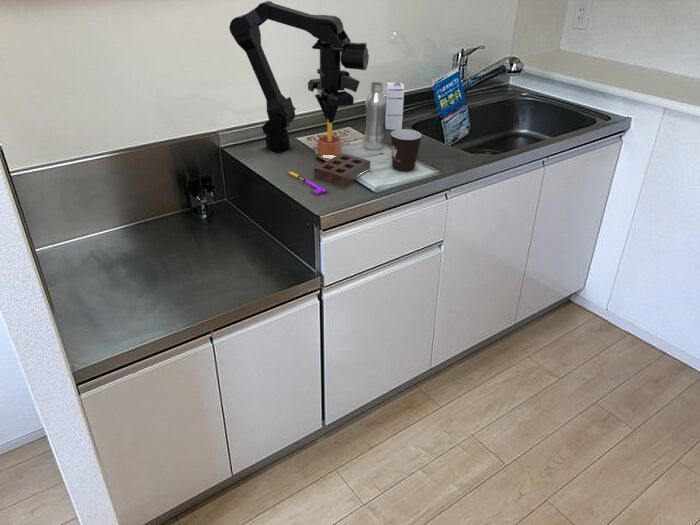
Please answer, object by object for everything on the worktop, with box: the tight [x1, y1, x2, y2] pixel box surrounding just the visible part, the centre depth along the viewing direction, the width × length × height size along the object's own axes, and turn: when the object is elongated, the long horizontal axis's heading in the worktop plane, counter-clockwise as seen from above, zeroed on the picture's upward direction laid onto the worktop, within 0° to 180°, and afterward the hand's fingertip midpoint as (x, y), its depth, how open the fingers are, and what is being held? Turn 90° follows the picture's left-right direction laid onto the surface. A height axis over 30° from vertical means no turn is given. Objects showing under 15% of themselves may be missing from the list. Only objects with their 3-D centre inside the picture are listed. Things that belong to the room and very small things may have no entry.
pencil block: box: [313, 152, 371, 188], centre depth 157 cm, size 10×14×4 cm
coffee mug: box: [390, 128, 422, 173], centre depth 162 cm, size 12×9×10 cm
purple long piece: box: [288, 171, 327, 195], centre depth 152 cm, size 3×1×16 cm
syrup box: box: [384, 81, 405, 131], centre depth 189 cm, size 6×6×14 cm
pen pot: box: [317, 134, 342, 161], centre depth 168 cm, size 7×7×6 cm
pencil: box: [326, 118, 333, 142], centre depth 164 cm, size 1×1×10 cm
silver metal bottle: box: [362, 81, 386, 151], centre depth 170 cm, size 6×7×20 cm
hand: (329, 121), depth 163 cm, fingers closed on pencil, 1 cm apart
